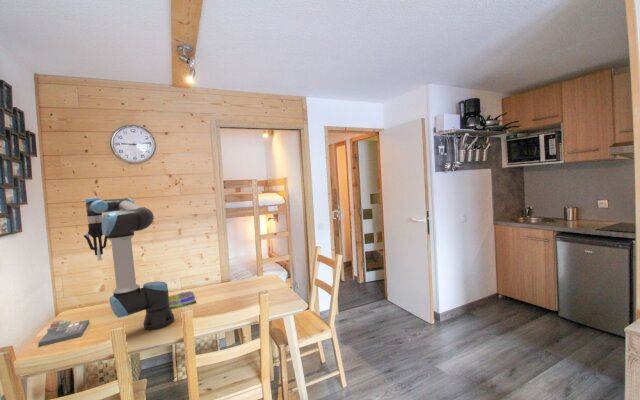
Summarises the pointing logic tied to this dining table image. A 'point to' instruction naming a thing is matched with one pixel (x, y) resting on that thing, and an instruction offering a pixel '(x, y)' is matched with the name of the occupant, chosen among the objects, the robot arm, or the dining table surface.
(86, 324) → the button board
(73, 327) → the cream tile
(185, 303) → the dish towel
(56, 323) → the terracotta tile
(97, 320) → the dining table surface
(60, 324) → the sage tile
